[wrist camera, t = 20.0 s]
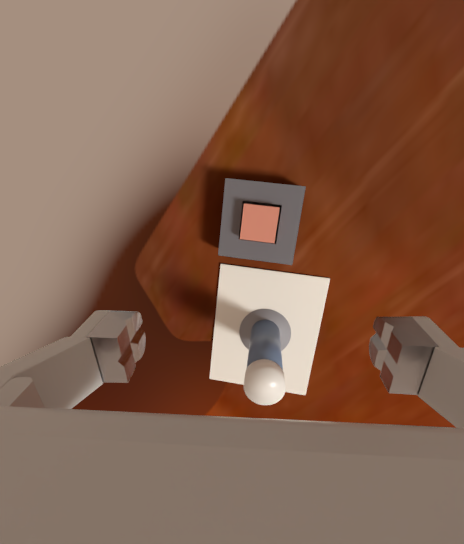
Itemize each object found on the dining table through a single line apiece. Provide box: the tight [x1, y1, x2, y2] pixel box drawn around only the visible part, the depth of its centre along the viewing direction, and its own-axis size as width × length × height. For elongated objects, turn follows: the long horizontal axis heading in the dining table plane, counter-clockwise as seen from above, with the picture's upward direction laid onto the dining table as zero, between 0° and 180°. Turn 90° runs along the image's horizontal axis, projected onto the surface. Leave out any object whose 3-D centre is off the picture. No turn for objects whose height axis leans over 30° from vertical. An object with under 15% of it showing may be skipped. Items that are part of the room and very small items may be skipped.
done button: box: [240, 203, 280, 243], centre depth 36 cm, size 4×4×3 cm
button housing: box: [218, 178, 305, 265], centre depth 38 cm, size 10×10×4 cm
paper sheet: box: [210, 264, 330, 395], centre depth 44 cm, size 20×16×1 cm
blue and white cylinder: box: [244, 320, 285, 405], centre depth 37 cm, size 5×5×13 cm
